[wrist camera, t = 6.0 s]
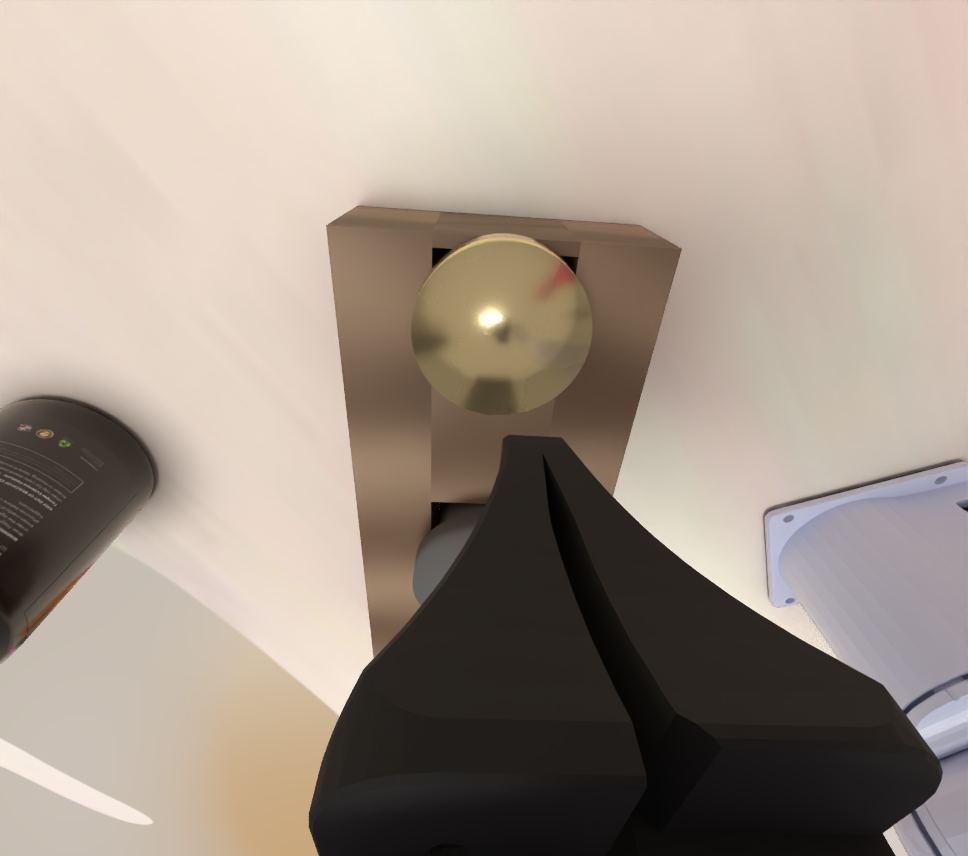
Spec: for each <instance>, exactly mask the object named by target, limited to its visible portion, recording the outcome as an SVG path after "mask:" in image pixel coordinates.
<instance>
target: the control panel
mask: <svg viewBox="0 0 968 856" xmlns="http://www.w3.org/2000/svg"><path fill="white" fill-rule="evenodd" d="M326 227H327V236H328V246H329V255H330V264H331V273H332V282H333V291H334V300H335V309H336V318H337V327H338V337H339V346H340V355H341V364H342V373H343V382H344V391H345V400H346V409H347V419H348V428H349V437H350V446H351V455H352V464H353V473H354V482H355V491H356V500H357V510H358V519H359V528H360V537H361V546H362V555H363V564H364V573H365V582H366V591H367V601H368V610H369V619H370V628H371V637H372V646H373V655H374V658H375V657H376V656H377V655H378V654H379V652H380V651H381V650H382V649H383V648H384V647H385V646H386V645H387V644H388V643H389V642H390V641H391V640H392V639H393V638H394V637H395V635H396V634H397V633H398V632H399V631H400V630H401V629H402V628H403V627H404V626H405V625H406V623H407V622H408V621H409V620H410V619H411V618H412V616H413V615H414V614H415V613H416V611H417V610H418V609H419V608H420V606H421V605H420V604H419V603H418V601H417V599H416V597H415V595H414V592H413V585H412V584H413V575H414V567H415V560H416V554H417V550H418V547H419V545H420V543H421V541H422V540H423V538H424V537H425V536H426V535H427V534H428V533H429V532H430V531H431V530H432V529H434V528H435V527H436V526H438V525H440V514H441V511H437V502H450V503H476V504H486V503H487V501H488V498H489V496H490V494H491V491H492V489H493V486H494V483H495V480H496V478H497V475H498V472H499V469H500V460H501V451H502V441H503V438H504V437H506V436H507V435H525V436H545V437H562V438H563V439H564V441H565V442H566V443H567V444H568V445H569V446H570V448H571V449H572V450H573V451H574V453H575V454H576V455H577V456H578V457H579V459H580V460H581V461H582V462H583V463H584V465H585V466H586V467H587V468H588V469H589V471H590V472H591V473H592V474H593V475H594V476H595V478H596V479H597V480H598V481H599V482H600V483H601V484H602V485H603V487H604V488H605V489H606V490H607V491H608V492H609V493H610V494H611V495H612V496H613V493H614V489H615V486H616V482H617V479H618V475H619V471H620V468H621V464H622V461H623V457H624V453H625V450H626V446H627V443H628V439H629V436H630V432H631V428H632V425H633V421H634V418H635V414H636V410H637V407H638V403H639V400H640V396H641V393H642V389H643V385H644V382H645V378H646V375H647V371H648V368H649V364H650V360H651V357H652V353H653V350H654V346H655V342H656V339H657V335H658V332H659V328H660V325H661V321H662V317H663V314H664V310H665V307H666V303H667V300H668V296H669V292H670V289H671V285H672V282H673V278H674V274H675V271H676V267H677V264H678V260H679V257H680V253H681V248H679V247H678V246H676V245H674V244H672V243H670V242H669V241H667V240H665V239H663V238H662V237H660V236H658V235H656V234H654V233H653V232H651V231H649V230H647V229H646V228H644V227H642V226H640V225H629V224H614V223H599V222H585V221H570V220H555V219H540V218H526V217H511V216H496V215H482V214H467V213H452V212H438V211H423V210H408V209H393V208H379V207H364V206H357V207H355V208H354V209H352V210H350V211H349V212H347V213H346V214H344V215H342V216H341V217H339V218H337V219H336V220H334V221H333V222H331V223H329V224H328V225H326ZM495 233H509V234H516V235H521V236H525V237H528V238H532V239H534V240H536V241H538V242H541V243H543V244H544V245H546V246H547V247H549V248H551V249H552V250H553V251H554V252H556V253H557V254H558V255H559V256H560V257H561V258H562V259H563V260H564V261H565V262H566V263H567V264H568V266H569V267H570V268H571V270H572V271H573V273H574V274H575V276H576V277H577V279H578V280H579V282H580V283H581V285H582V286H583V288H584V291H585V293H586V295H587V297H588V300H589V304H590V307H591V313H592V319H593V332H592V340H591V345H590V349H589V352H588V355H587V358H586V360H585V362H584V364H583V366H582V368H581V370H580V371H579V373H578V375H577V376H576V377H575V379H574V380H573V381H572V382H571V383H570V385H569V386H568V387H567V388H566V389H565V390H564V391H562V392H561V393H560V394H559V395H558V396H556V397H555V398H553V399H552V400H550V401H549V402H547V403H545V404H543V405H541V406H539V407H537V408H534V409H532V410H529V411H526V412H521V413H517V414H510V415H489V414H482V413H477V412H473V411H470V410H468V409H465V408H462V407H460V406H458V405H456V404H454V403H453V402H451V401H449V400H448V399H446V398H445V397H444V396H442V395H441V394H440V393H439V392H438V391H437V390H436V389H435V388H434V387H433V386H432V385H431V384H430V383H429V381H428V380H427V379H426V377H425V376H424V375H423V373H422V371H421V369H420V367H419V365H418V363H417V360H416V357H415V355H414V351H413V346H412V339H411V321H412V316H413V310H414V307H415V304H416V301H417V298H418V295H419V292H420V290H421V287H422V285H423V283H424V281H425V279H426V277H427V275H428V273H429V272H430V270H431V269H432V268H433V266H434V265H435V264H436V263H437V262H438V261H439V260H440V256H441V248H448V249H453V248H454V247H456V246H458V245H459V244H461V243H463V242H465V241H467V240H470V239H472V238H476V237H479V236H482V235H488V234H495Z"/></svg>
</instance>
